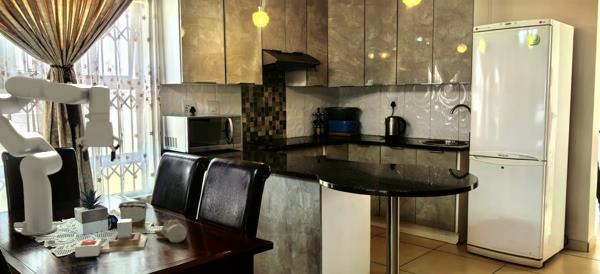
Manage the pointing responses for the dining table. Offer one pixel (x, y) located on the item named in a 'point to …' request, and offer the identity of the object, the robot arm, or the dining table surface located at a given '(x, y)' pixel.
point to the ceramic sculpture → (172, 231)
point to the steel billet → (124, 229)
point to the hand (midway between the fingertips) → (99, 161)
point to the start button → (88, 242)
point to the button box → (88, 249)
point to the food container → (134, 212)
